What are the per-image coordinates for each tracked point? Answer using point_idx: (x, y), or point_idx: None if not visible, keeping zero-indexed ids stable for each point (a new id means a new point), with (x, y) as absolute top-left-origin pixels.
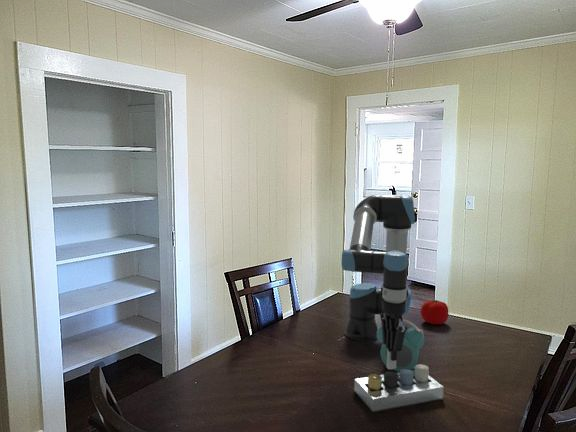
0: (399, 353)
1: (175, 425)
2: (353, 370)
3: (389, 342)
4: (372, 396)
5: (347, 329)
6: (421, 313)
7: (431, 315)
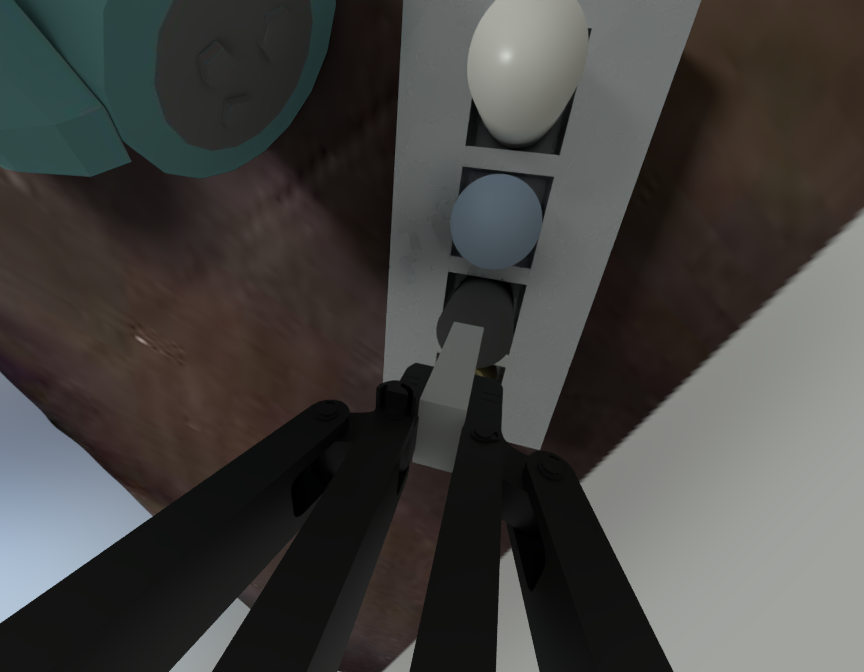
0: (237, 58)
1: (388, 659)
2: (267, 292)
3: (392, 503)
4: (522, 441)
5: None
6: None
7: None
